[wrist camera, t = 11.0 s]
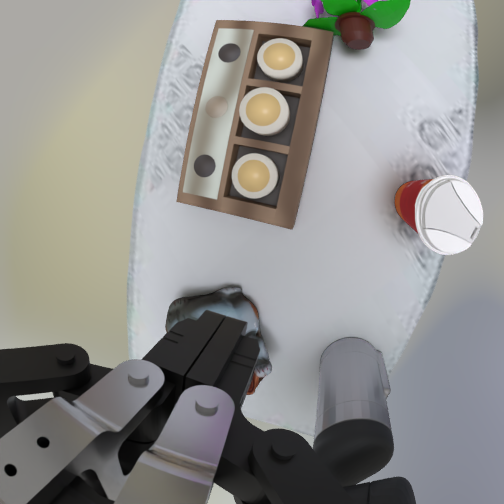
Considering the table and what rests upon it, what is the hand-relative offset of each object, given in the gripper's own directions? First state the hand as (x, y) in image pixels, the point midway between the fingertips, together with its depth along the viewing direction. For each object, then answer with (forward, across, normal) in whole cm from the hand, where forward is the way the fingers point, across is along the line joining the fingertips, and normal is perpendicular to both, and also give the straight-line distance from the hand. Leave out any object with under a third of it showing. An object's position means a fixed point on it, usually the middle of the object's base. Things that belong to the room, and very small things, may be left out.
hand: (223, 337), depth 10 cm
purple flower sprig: (+32, +2, -40) cm, 51 cm away
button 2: (+30, +6, -4) cm, 31 cm away
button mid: (+28, +6, -12) cm, 31 cm away
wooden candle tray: (+31, +8, -12) cm, 34 cm away
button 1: (+30, +6, -20) cm, 37 cm away
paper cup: (+31, -15, -6) cm, 35 cm away
